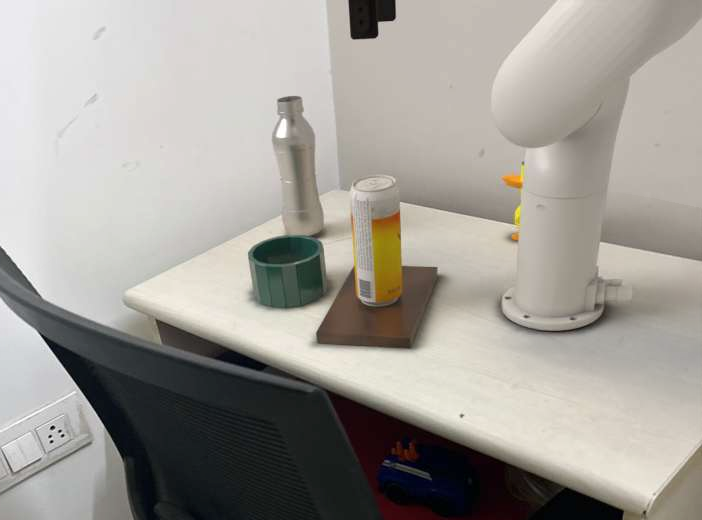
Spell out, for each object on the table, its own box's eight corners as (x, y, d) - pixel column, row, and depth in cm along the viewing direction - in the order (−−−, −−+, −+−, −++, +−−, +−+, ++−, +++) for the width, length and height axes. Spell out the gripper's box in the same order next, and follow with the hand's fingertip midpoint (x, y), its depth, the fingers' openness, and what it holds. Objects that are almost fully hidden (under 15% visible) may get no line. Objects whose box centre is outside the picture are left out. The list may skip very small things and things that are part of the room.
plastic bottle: (321, 241, 122) (307, 104, 109) (280, 242, 123) (261, 106, 110) (329, 225, 127) (316, 92, 114) (289, 226, 128) (272, 94, 115)
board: (437, 276, 109) (437, 266, 108) (410, 348, 94) (410, 337, 93) (355, 274, 112) (354, 264, 111) (316, 343, 98) (315, 332, 97)
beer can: (410, 291, 103) (408, 176, 93) (388, 311, 99) (383, 193, 89) (371, 284, 105) (364, 171, 96) (348, 303, 102) (339, 188, 92)
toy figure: (493, 237, 117) (497, 154, 109) (507, 229, 119) (512, 147, 111) (532, 246, 113) (539, 162, 105) (545, 238, 115) (553, 154, 107)
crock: (335, 275, 112) (331, 235, 108) (315, 309, 105) (310, 267, 101) (268, 273, 115) (262, 234, 111) (244, 306, 107) (236, 265, 103)
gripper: (382, -158, 74) (389, 44, 85) (416, -164, 87) (418, 13, 98) (308, -149, 76) (324, 47, 87) (351, -157, 89) (361, 17, 100)
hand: (374, 29), depth 92 cm, fingers open, 9 cm apart
